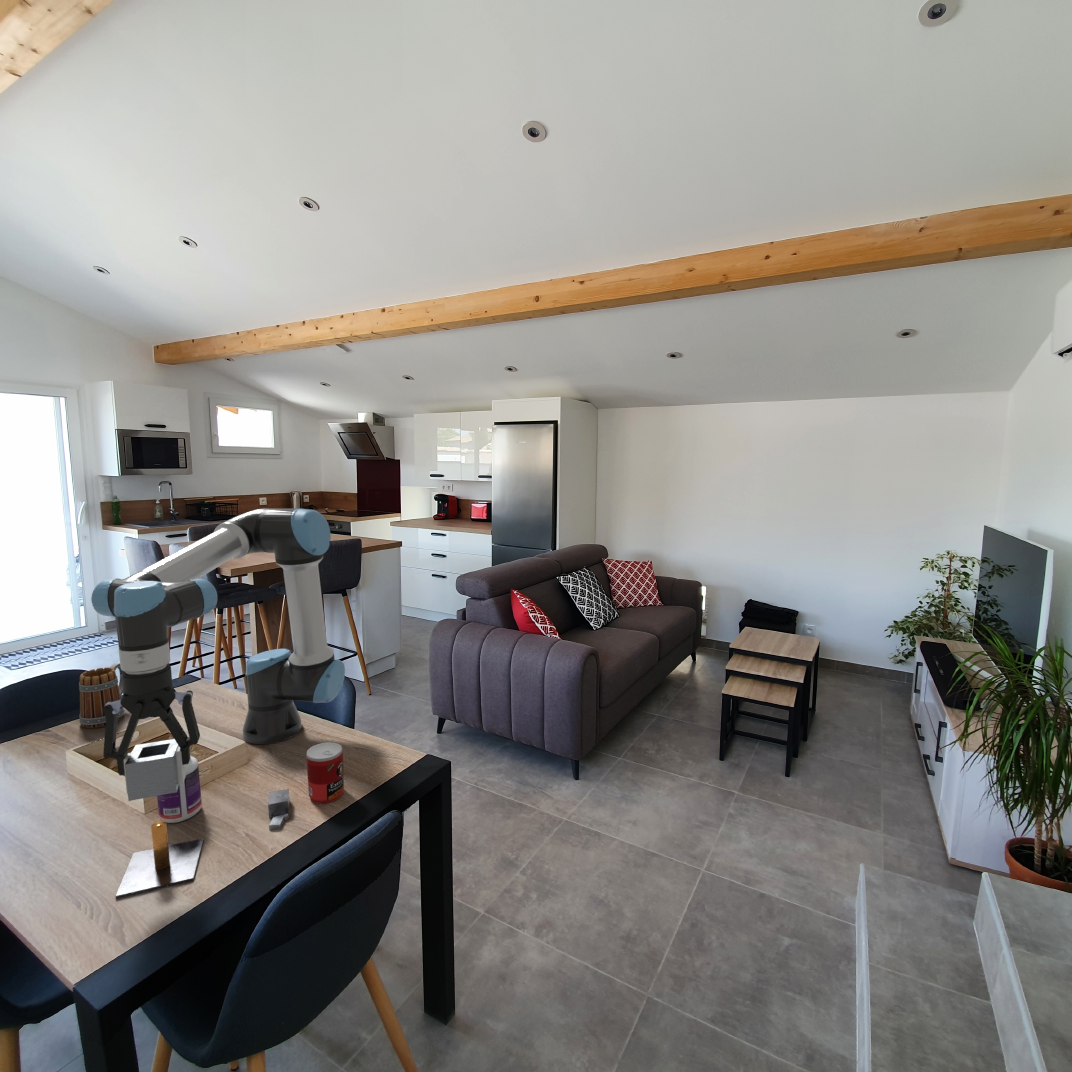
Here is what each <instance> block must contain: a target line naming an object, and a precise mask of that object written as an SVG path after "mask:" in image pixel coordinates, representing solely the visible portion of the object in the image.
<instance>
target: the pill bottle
mask: <svg viewBox="0 0 1072 1072" xmlns="http://www.w3.org/2000/svg"><path fill="white" fill-rule="evenodd" d="M190 757H191V758H190V761H189V763H188V764H185V773H186V777H185V780H184V783H183V784H179V786H178V789H177V792H175V793H169V794H164V795H159V796H156V799H157V808H158V809H157V810H158V817H159V819H160V821H166V824H169V823H170V824H171V823H172V824H174V823H175V824H176V823H180V822H184V821H185V820H188V819H191V818H192V817H194V816H195V815H196V814H197V813H199V812H200V811H201V808H202V804H203V802H202V801H203V800H202V791H201V781H200V779H201V778H200V767H199V761H198V758H195V757H194V756H192V755H191V752H190Z"/></svg>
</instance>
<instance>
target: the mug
mask: <svg viewBox="0 0 1072 1072" xmlns="http://www.w3.org/2000/svg"><path fill="white" fill-rule="evenodd" d="M117 669H118V671H119V679H118V676H117V673H116V672H117V671H116V670H117ZM122 673H123V670H121V667H120V662H119V663H118V662H117V663H113V664H111V665H110V666H109V667H107V666H106V667H98V668H96V669H95V668H94V669H89V670H88V671H86V670H85V671H84V672H82V673H81V674H80V676H79V682H78V690H79V703H80V704H79V712H80V713H79V723H80V726H81V727H83V728H86V729H97V728H99V729H100V728H103V727H104V728H105V726H106V717H105V715H104V712H103V707H104V706H105V705H106V703H107V702H108V701H118V700H121V699H122V697H123V688H122V678H121V674H122ZM124 709H125V708H124V707H123V706H121V707H120V711H119V712H118V720H117V722H119V721H121V720H122V719H123V717H124V716H125V710H124Z"/></svg>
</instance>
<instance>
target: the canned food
mask: <svg viewBox="0 0 1072 1072" xmlns="http://www.w3.org/2000/svg"><path fill="white" fill-rule="evenodd" d="M343 752H344V751H343V747H342V745H341V744H339V743H336V742H328V741H327V742H322V743H318V744H317V743H316V745H315V744H314V745H313V746H310V748H308V749H307V751H306V755H305V756H306V771H307V787H308V790H307V791H308V797H309V799H310V800H311V802H314V803H316V804H329V803H332V802H334V801H337V800H338V799H340V798H342V796H343V794H344V791H345V779H344V778H345V777H344V754H343Z"/></svg>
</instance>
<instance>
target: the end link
mask: <svg viewBox="0 0 1072 1072" xmlns="http://www.w3.org/2000/svg"><path fill="white" fill-rule="evenodd" d="M177 748H178V744H177V742H176V741H175V739H174V738H172V739H166V740H159V741H153V742H147V743H139V744H136V745H135V746H134V747H133V749H132V750H131V752H130V753H131V754H130V756H129V758H128V760H127V761H126V763H125V772H126V780H125V783H126V782H127V790H126V793H127V792H128V794H127V799H128V802H130V801H137V800H141V799H142V800H143V799H148V798H152V797H157V796H159V795H164V794H169V793H175V792H177V789H178V786H179V782H178V770H177V759H176V750H177Z"/></svg>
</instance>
